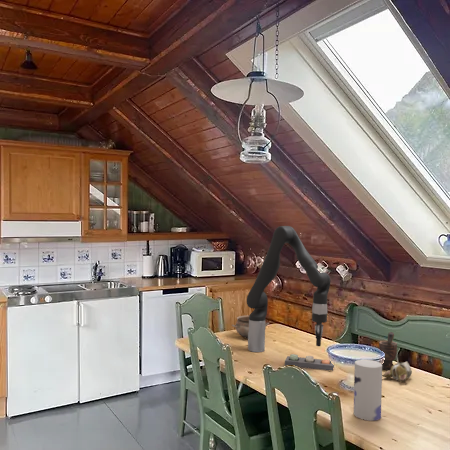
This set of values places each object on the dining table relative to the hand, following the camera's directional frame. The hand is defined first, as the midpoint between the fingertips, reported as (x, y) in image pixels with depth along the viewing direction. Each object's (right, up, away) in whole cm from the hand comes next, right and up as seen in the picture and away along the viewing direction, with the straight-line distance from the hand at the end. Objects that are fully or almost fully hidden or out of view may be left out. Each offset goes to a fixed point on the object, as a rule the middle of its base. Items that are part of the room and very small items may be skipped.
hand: (318, 345), depth 240 cm
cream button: (-4, -8, +1) cm, 10 cm away
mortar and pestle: (+35, -11, -3) cm, 37 cm away
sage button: (-12, -8, +3) cm, 15 cm away
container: (+7, -11, -61) cm, 62 cm away
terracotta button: (+3, -10, -2) cm, 10 cm away
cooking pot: (-32, -10, +56) cm, 65 cm away
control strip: (-4, -10, +1) cm, 11 cm away
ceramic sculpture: (+35, -12, -18) cm, 40 cm away
